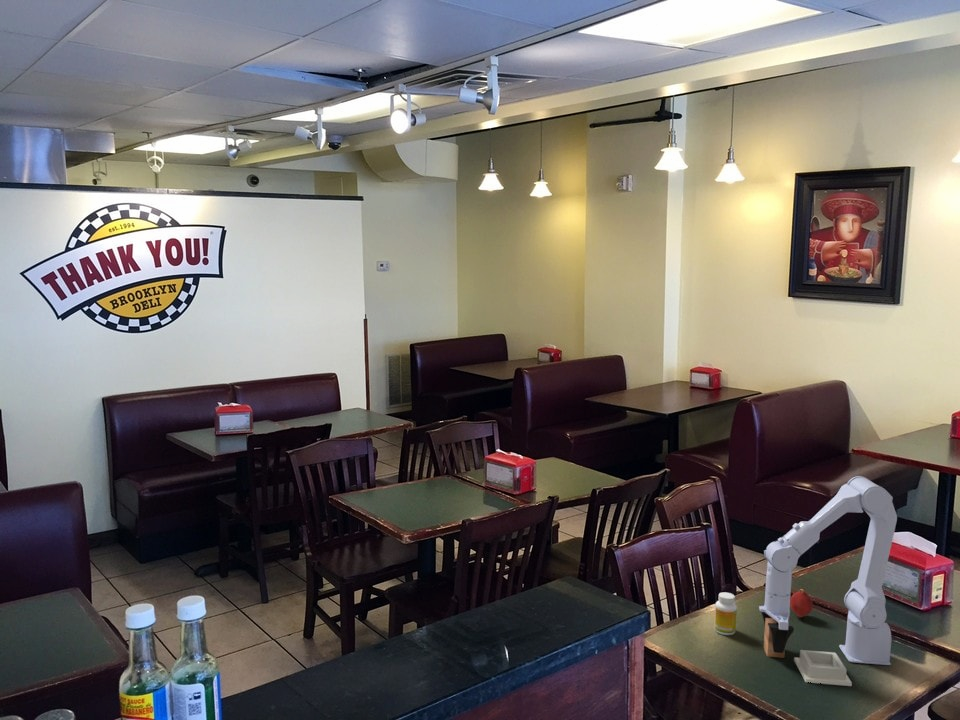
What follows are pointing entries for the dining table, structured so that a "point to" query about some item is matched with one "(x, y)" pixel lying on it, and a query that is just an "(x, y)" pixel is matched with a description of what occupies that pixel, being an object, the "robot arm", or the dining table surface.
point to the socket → (822, 668)
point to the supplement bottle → (725, 614)
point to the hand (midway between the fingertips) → (774, 644)
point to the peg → (770, 640)
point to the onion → (801, 603)
